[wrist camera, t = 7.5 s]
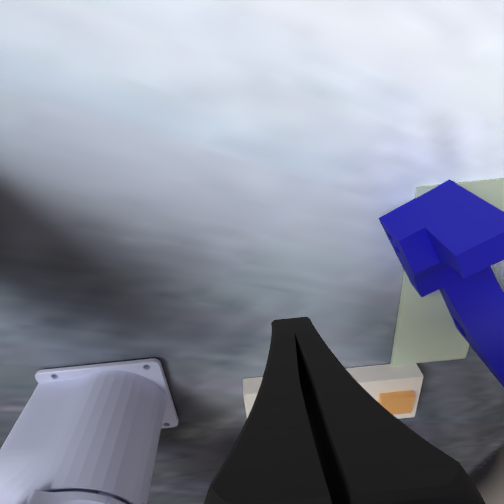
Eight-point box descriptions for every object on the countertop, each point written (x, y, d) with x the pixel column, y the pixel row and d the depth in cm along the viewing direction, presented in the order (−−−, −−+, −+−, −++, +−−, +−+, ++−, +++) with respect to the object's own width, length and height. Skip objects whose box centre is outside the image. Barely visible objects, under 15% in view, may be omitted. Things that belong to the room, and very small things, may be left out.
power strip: (248, 417, 31) (249, 440, 29) (242, 378, 29) (243, 401, 27) (406, 401, 31) (417, 423, 29) (415, 361, 29) (427, 382, 27)
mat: (390, 363, 29) (391, 365, 28) (416, 187, 21) (418, 188, 21) (464, 356, 29) (465, 358, 28) (516, 176, 21) (519, 177, 21)
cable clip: (378, 218, 22) (424, 271, 17) (449, 179, 21) (522, 222, 16) (437, 337, 27) (486, 405, 22) (496, 311, 26) (562, 376, 21)
